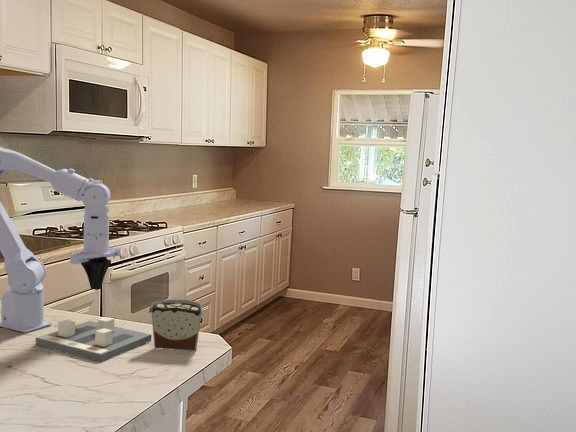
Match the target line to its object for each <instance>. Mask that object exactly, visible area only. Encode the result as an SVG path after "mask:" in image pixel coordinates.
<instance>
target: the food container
mask: <svg viewBox="0 0 576 432" xmlns="http://www.w3.org/2000/svg"><path fill="white" fill-rule="evenodd" d="M150 313H151V322H152V335H153V336H152V337H153V347H154V349H156V348H163V349H162V350H168V349H173V350H172V351H181V350H182V351H181V352H183V351H184V352H194V353H195V352H196V351H197V349H198V341H199V333H200V326H201V318H204V317H205V312H204V308H203V305H202V304H201V303H199V302H197V301H194V300H187V299H164V300H158V301H155V302H153V303H151V304H150V306H149V309H148V314H150Z"/></svg>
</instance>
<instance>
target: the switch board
mask: <svg viewBox="0 0 576 432" xmlns="http://www.w3.org/2000/svg"><path fill="white" fill-rule="evenodd" d="M97 330H98V321H97V322H96V321H93V320H88V321H85V322H81V323H79V324H78V323H77V324H75V335H72V336H69V337H62V336H58V330H56V331H53V332H51V333H48V334H44V335H41V336H37V337H35V345H36V346H40V347H44V348H47V347H49V348H48V349H50V348H52V349H51V350H54V349H56V350H55V351H58V350H61V351H60V352H62V351H64V352H63V353H66V352H68V353H67V354H70V353H71V354H70V355H73V354H74V355H73V356H77V355H78V356H79V357H81V356H82V358H86V359H90V360H92V361H93V360H94V361H97V362H102V363H103V362H104V361H106V360H109V359H111V358H114V357H116V356H118V354H119V355H120V353H121V354H123V353H122V352H124V353H125V351H126V352H128V351H130V349H131V350H132V348H133V349H135V347H136V348H138V347H140V346H143V345H145V344H147V343H146V342H148V343H150V342H152V337H153V336H152V335H153V334H151V333H145V332H140V331H137V330H133V329H129V328H128V329H127V328H123V327H118V326H115V325H114V332H113V334H112V344H110V345H107V346H105V347H103V346H99V345H95V331H97ZM149 341H150V342H149ZM144 343H145V344H144ZM142 344H143V345H142ZM139 345H140V346H139ZM137 346H138V347H137ZM127 350H128V351H127ZM115 355H116V356H115ZM78 356H77V357H78ZM113 356H114V357H113Z"/></svg>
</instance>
